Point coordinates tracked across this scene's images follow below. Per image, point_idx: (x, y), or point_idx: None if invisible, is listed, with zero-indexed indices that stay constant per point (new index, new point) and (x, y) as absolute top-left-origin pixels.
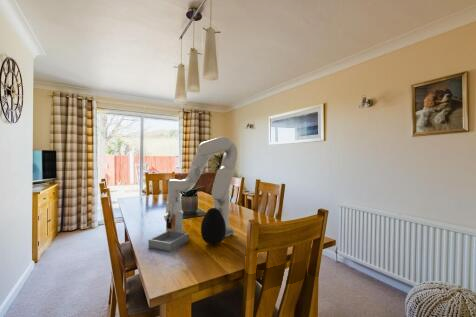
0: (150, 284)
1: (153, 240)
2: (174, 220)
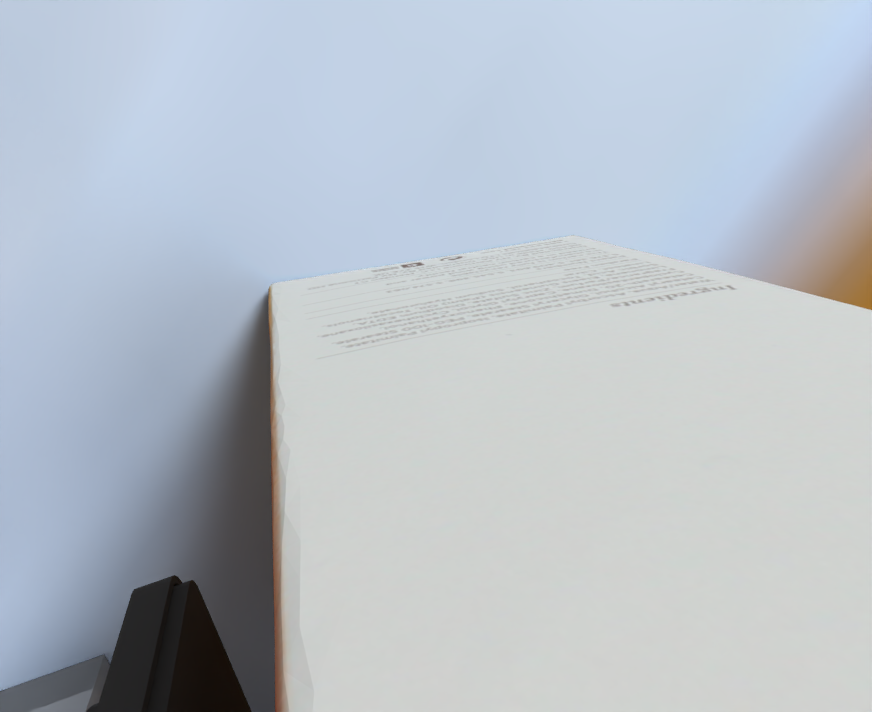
0: None
1: None
2: None
